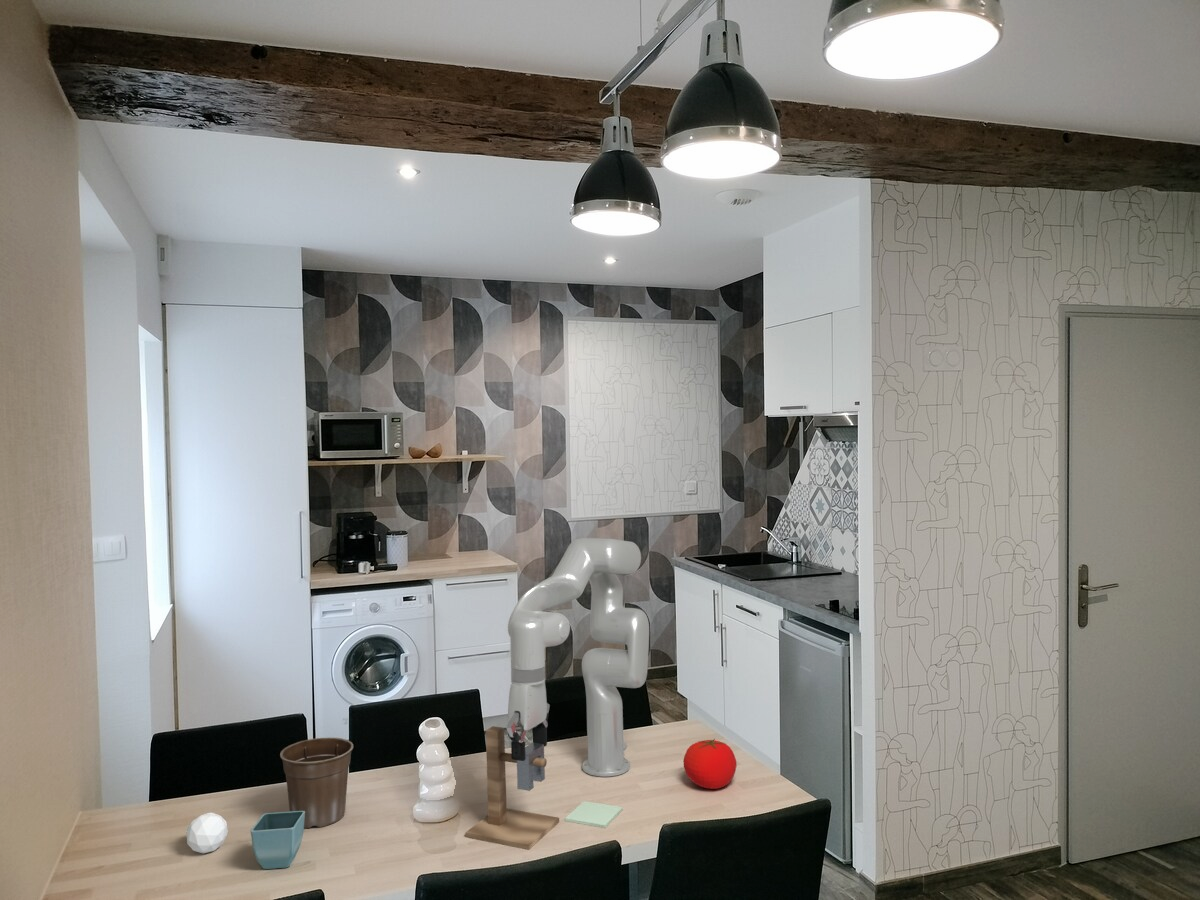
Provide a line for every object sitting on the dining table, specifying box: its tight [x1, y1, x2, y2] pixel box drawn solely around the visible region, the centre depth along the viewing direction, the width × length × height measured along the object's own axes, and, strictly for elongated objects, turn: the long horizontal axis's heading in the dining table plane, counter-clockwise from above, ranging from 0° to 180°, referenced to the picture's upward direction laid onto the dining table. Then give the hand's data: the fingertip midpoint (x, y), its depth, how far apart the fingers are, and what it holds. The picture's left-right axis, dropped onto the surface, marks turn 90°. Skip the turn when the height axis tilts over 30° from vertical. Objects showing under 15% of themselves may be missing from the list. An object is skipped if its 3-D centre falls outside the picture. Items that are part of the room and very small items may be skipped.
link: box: [516, 742, 546, 792], centre depth 184 cm, size 7×3×8 cm, turn 156°
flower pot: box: [250, 811, 305, 870], centre depth 174 cm, size 9×9×9 cm
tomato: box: [683, 738, 738, 790], centre depth 208 cm, size 12×13×11 cm
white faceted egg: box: [186, 812, 229, 854], centre depth 181 cm, size 8×8×12 cm
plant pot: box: [279, 737, 354, 829], centre depth 195 cm, size 16×16×16 cm
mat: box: [564, 800, 624, 829], centre depth 192 cm, size 10×10×1 cm
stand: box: [464, 725, 560, 850], centre depth 186 cm, size 14×16×22 cm
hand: (529, 752), depth 184 cm, fingers open, 9 cm apart
